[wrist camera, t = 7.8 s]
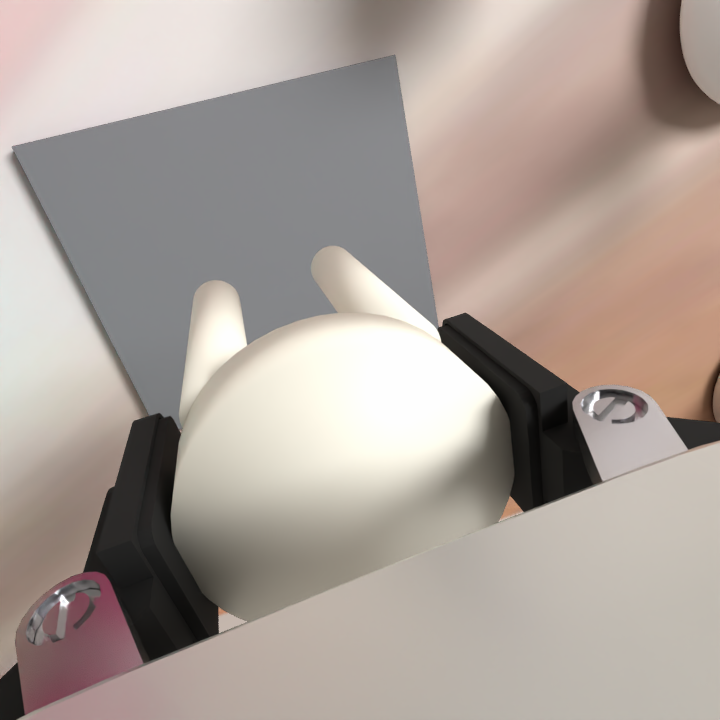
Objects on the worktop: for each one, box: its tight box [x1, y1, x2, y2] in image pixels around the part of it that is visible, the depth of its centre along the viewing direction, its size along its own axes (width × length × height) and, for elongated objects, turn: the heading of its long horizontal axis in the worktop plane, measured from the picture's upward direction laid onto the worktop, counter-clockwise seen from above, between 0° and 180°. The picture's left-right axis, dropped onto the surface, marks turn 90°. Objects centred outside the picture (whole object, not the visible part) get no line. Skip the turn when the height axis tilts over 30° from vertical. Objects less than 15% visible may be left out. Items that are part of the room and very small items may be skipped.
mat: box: [12, 55, 439, 430], centre depth 26 cm, size 18×16×1 cm
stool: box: [171, 246, 515, 622], centre depth 13 cm, size 6×6×8 cm
